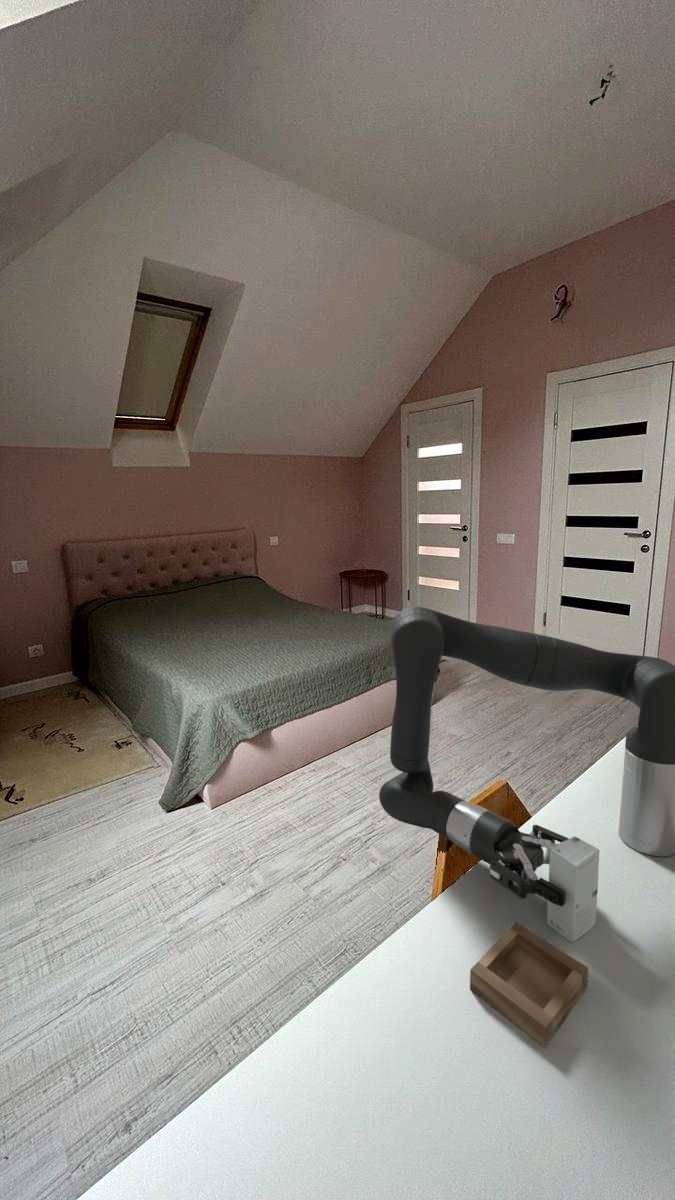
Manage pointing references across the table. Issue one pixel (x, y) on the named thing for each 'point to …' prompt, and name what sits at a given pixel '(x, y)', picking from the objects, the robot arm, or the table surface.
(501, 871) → the robot arm
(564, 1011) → the wooden tray
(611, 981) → the table surface
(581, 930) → the skincare box
